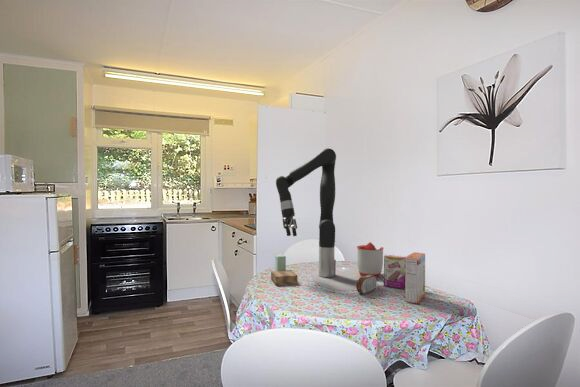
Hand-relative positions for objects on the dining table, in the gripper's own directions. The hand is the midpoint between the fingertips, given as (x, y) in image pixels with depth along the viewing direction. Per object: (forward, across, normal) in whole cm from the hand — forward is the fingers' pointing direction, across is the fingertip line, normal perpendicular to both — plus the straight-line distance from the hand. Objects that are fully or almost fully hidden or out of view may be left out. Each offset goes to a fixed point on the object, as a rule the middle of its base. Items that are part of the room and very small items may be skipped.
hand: (292, 235), depth 196 cm
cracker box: (+42, -7, -60) cm, 74 cm away
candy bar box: (+37, +9, -50) cm, 63 cm away
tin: (+36, -7, -38) cm, 53 cm away
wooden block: (+25, -8, +6) cm, 27 cm away
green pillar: (+21, +1, +12) cm, 25 cm away
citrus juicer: (+31, +27, -35) cm, 53 cm away
